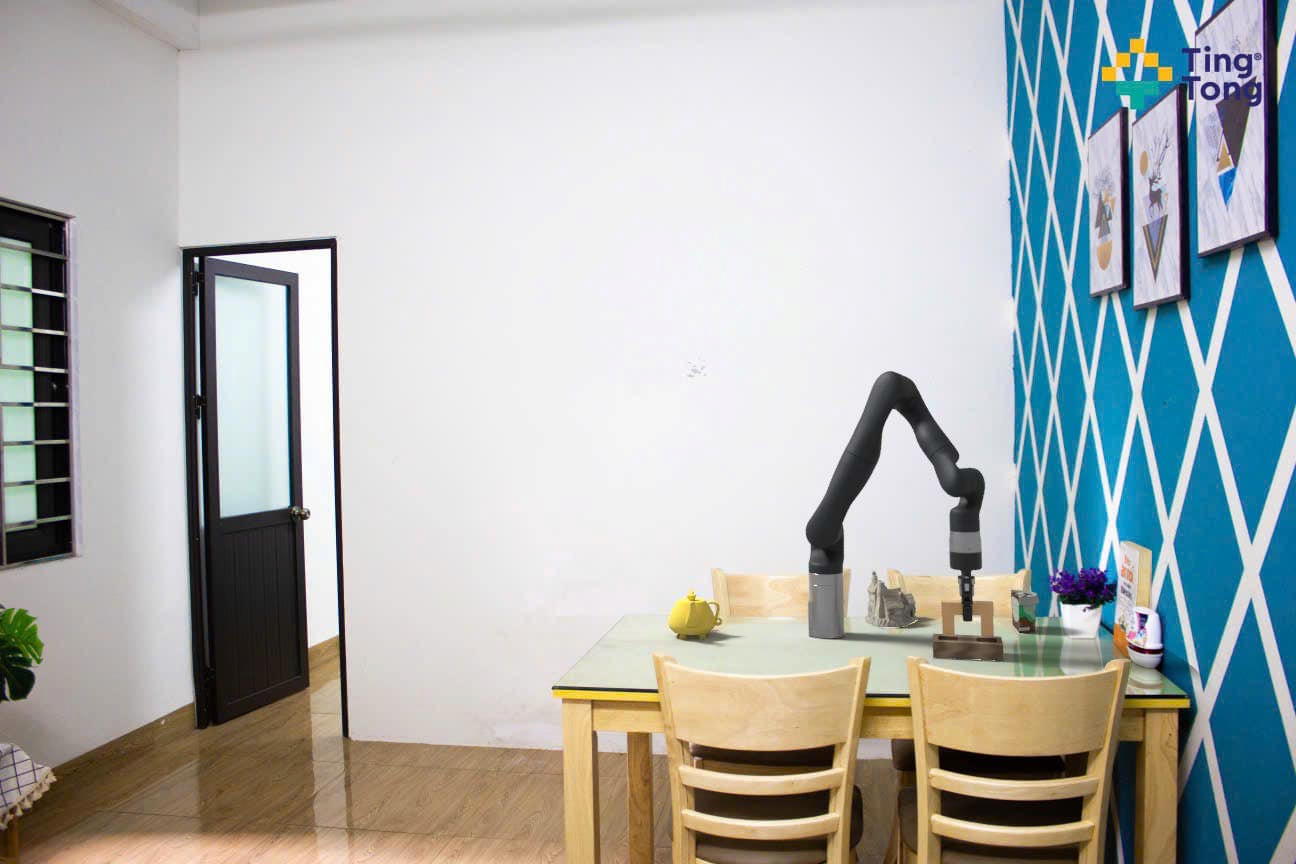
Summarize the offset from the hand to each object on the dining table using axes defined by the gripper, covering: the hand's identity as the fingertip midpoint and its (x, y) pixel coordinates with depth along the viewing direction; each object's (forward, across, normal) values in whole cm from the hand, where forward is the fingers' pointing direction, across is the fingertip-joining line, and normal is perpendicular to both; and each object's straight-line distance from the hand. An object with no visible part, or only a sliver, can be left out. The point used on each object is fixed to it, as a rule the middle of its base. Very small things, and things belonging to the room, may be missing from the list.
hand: (967, 619), depth 226 cm
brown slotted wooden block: (+9, 0, 0) cm, 9 cm away
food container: (+9, +33, -16) cm, 37 cm away
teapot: (+9, +7, +71) cm, 72 cm away
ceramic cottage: (+9, +36, +20) cm, 42 cm away
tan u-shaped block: (+4, 0, 0) cm, 4 cm away
